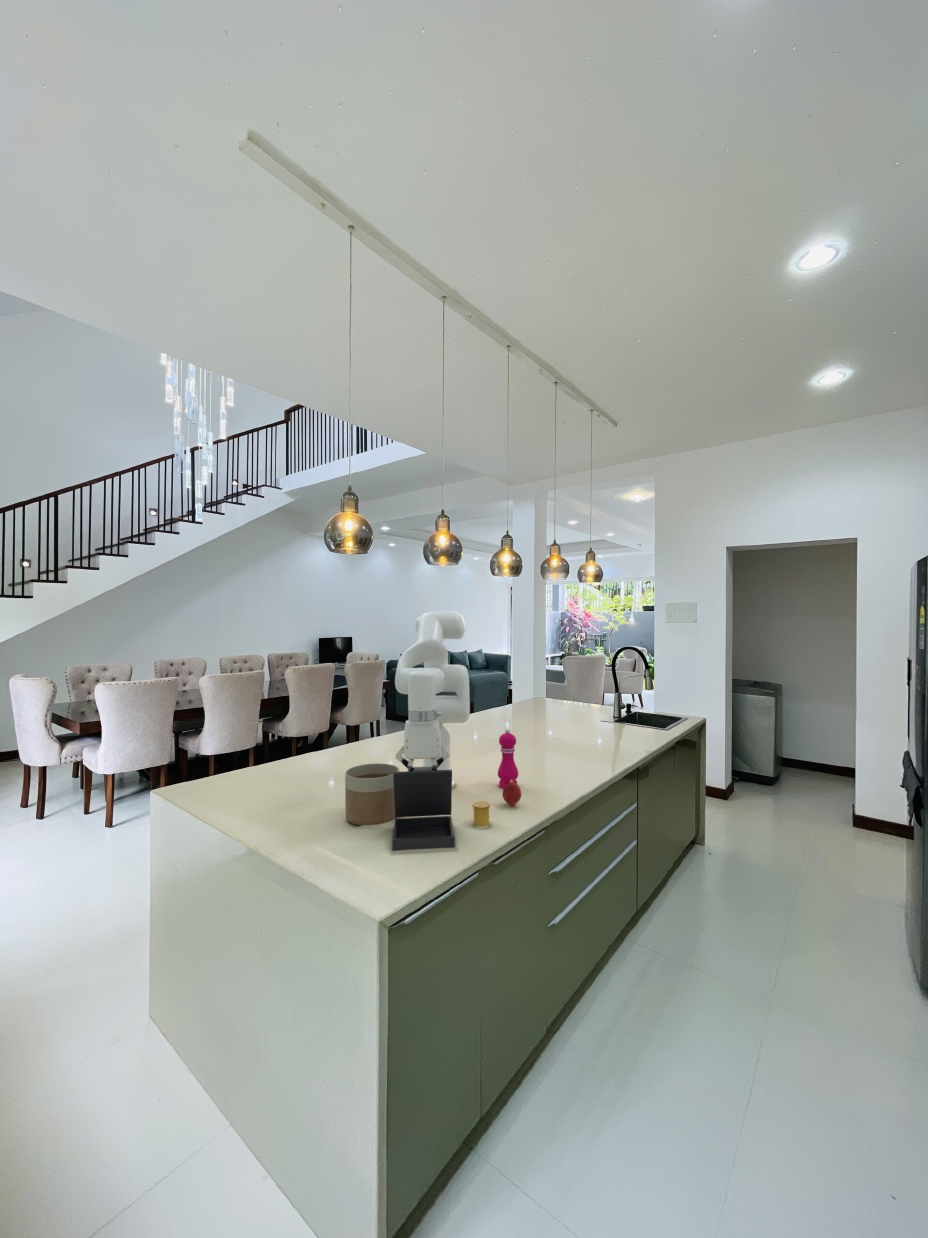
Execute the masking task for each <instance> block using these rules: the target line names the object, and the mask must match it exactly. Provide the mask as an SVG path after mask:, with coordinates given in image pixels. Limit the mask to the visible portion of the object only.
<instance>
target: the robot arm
mask: <svg viewBox="0 0 928 1238" xmlns="http://www.w3.org/2000/svg"><path fill="white" fill-rule="evenodd" d="M414 626H415V631H416V638H415V643H414V644H412V645H410V647H408V648H407V649H406V650H405V651H404V652H403V653H402V654H401V655H400V657H399V659H398V662H397V664H396V670H395V677H394V686H395V689H396V691H397V692H398V693H400V694H401V695H407V709H408V710H407V711H408V712H407V713H408V715H407V716H408V719H407V720H405V724H404V731H403V745H402V746H401V748H400V749H399V750H398V751H397V753H396V754H395V755H394V756H395V759H396V760H397V761H398V762H400V763H401V764H402V765H403V766H404V767H405V768H406V769H407V771H414V761H415V760H422V767H431V766H432V770H451V736H450V734H449V731H448V729H447V728H446V727H445V726H444V725H443V724H463V723H466V722H468V721H469V719H470V714H471V713H470V712H471V703H470V700H471V699H470V698H471V697H470V695H471V694H470V674H469V671H468V668H467V667H466V666H465V665H463V664H449V651H448V649H447V647H446V645H445V644H444V640H460V639H462V638H463V637H464V635H465V632H466V623H465V618H464V617H463V615H462V614H461V613H460V612H457V611H429V612H425V613H423V614H421V616H419V617H417V618H416V620H415V624H414ZM421 664H423V667H416V666H418V665H421ZM443 692H445V693H446V692H448V693H449V692H450V693H456V695H437V694H440V693H443ZM403 755H404V756H403ZM455 786H456V782H455V780H454V779H452V789H453V788H454V787H455Z"/></svg>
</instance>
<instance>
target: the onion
mask: <svg viewBox="0 0 928 1238" xmlns="http://www.w3.org/2000/svg"><path fill="white" fill-rule="evenodd" d="M502 789H503V788H502ZM501 793H502V799H503V800H504V803H506V804H508V805H509V806H510V807H514V806H515V805H517V803H519V801H521V798H522V791H521V789H520V786H518V784H517V785H516V784H515V783H514V781H513V780H510V782H509V784H507V785H506V786H505V787H504V789H503V790H502V792H501Z"/></svg>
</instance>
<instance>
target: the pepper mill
mask: <svg viewBox="0 0 928 1238" xmlns="http://www.w3.org/2000/svg"><path fill="white" fill-rule="evenodd" d="M516 738H517V737H516V735H514V734H513V733H511V730H510V729H509V728H506V729H505V730H504V733H502V734H501V735H500V736H499V738H498V743H499V746H500V752H501V761H500V764H499V767H498V768H497V777H498V778H499V779H500V780H499V781H498V786H499V787H500V788H501V789H504V787H505V786H506V785H507V784H509V782H510V780H513V781H514V783H515V784H516V785H517V786H518V781H517V779H518V777H519V770H518V766H517V765H516V763H515V759H514V758H515V757H514V753H515V752H516V747H515V746H516V744H517V739H516Z"/></svg>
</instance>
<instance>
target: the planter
mask: <svg viewBox="0 0 928 1238" xmlns="http://www.w3.org/2000/svg"><path fill="white" fill-rule="evenodd" d="M393 772H400V767H398V766H396V765H394V764H392V763H391V764H390V763H375V762H374V763H364V764H359V765H355V766H352V767H349V768H348V769H347V770H346V771H345V772H344V793H345V794H344V798H345V800H344V802H345V803H344V804H345V819H346V821H348V822H349V823H351V824H353V825H358V826H375V825H376V826H377V825H382V824H386V823H389V822H392V821H395V818H398V817H395V803H394V780H393Z"/></svg>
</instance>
